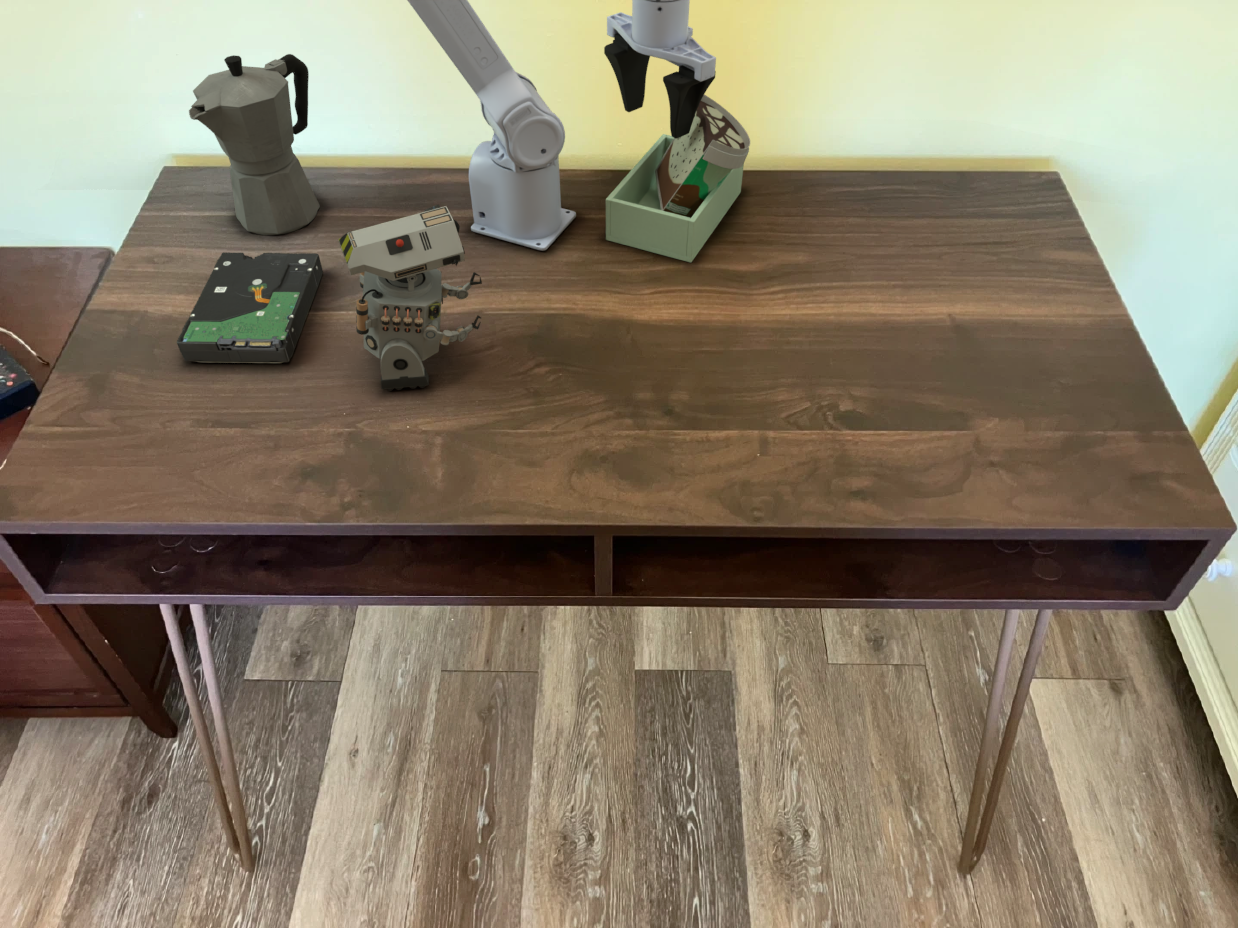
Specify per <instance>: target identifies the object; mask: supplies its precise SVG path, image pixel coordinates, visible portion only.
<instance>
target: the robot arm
mask: <svg viewBox="0 0 1238 928" xmlns="http://www.w3.org/2000/svg"><path fill="white" fill-rule="evenodd" d="M406 1H407V2H408V3H409V5H410V6H411V8H412V9H413V11H414V12H415V14H417V16H418V17H419V19H420V20H421V21H422V23H423V24H424V25H425V27H426V28H427V30H428V31H429V32H430V34H431V35H432V36H433V37H434V39H435V40H436V42H437V43H438V44H439V46H440V47H441V48H442V50H443V51H444V53H445V54H446V56H447V57H448V59H449V60H450V61H451V62H452V63H453V66H455V68H456V69H457V70H458V72H459V73H460V75H461V76H462V78H463V79H464V80H465V82H466V83H467V84H468V85H469V87H470V88H471V89H472V91H473V92H474V94H475V96H476V97H477V98H478V99H479V103H480V111H481V114H482V117H483V119H484V120H485V122H486V123H487V125H488V126H490V127H491V129H492V131H493V134H492V138H491V140H484V141H482V142H480V143H479V144H478V145H477V147H476V148H475V149H474V151H473V153H472V155H471V157H470V161H469V166H468V184H469V193H470V199H471V209H472V215H473V223H472V225H471V226H470V230H471V232H473V233H477V234H480V235H484V236H487V237H491V238H495V239H498V240H502V241H505V242H509V243H513V244H516V245H520V246H524V247H527V248H531V249H533V250H537V251H542V252H544V251H547V250H548V248H549V247H550V246H551V245H552V244H553V243H554V242H555V241H556V239H558V237H559V236H560V235H561V234H562V233H563V231H565V230H566V229H567V228H568V227H569V225H570V224H571V223H572V222H573V221H574V220H575V219H576V217H577V212H576V211H575V210H571V209H566V208H562V197H561V176H560V157H559V156H560V154H561V152H562V151H563V148H564V147H565V146H564V145H565V142H566V140H565V139H566V131H565V126H564V124H563V122H562V120H561V119H560V117H558V115H557V114H556V113H555V112H553V111H552V110H551V108H550V107H549V106H548V104H547V103H546V101H545V100H544V99H543V97H541V95H540V93H539V92H538V90H537V88H536V86H535V84H534V83H533V82H532V80H531V79H529V78H528V77H526V75H523V74H521V73H519V72H517V71H516V70H515V69H514V68H513V66H512V65H511V63H510V62H509V60H508V59H507V57H506V55H505V54H504V52H503V51H502V49H501V48H500V46H499V45H498V43H497V42H496V40H495V39H494V38H493V36H492V35H491V33H490V31H489V30H488V29H487V27H486V26H485V24H484V22H483V21H482V20H481V18H480V17H479V15H478V14H477V12H476V11H475V10H474V8H473V6H472V5H471V3H470V2H469V1H468V0H406ZM631 1H632V2H631V4H632V6H631V8H632V9H631V13H632V14H631V15H630V14H626V13H624V12H621V11H620V12H616V13H614V14H611V15H608V16H606V35H607V36H608V37H610V38H613V40H612V42H611V43H608V44H606V45H605V46H604V47H603V48H604V49H603V53H604V55H605V57H606V59H607V60H608V62H609V65H610V66H611V68H612V71H613V72H614V75H615V78H616V82H617V84H618V87H619V92H620V95H621V99H622V103H623V109H624V111H625V112H627V113H631V112H634V111H636V110H638V109H641V108H643V107H644V103H645V93H646V84H647V83H646V79H647V72H648V67H649V63H650V58H651V57H653V58H657V59H661V60H664V61H667V62H668V63H670V64H672V65H675V66H677V67H678V71H674V72H671V73H669V74H667V75H664V76H663V77H662V82H663V84H664V87H665V90H666V94H667V97H668V104H669V127H670V128H669V129H670V136H672V137H674V138H676V139H677V138H679V137H682V136H684V135H686V134H688V133H689V132H690V128H691V125H692V122H693V119H694V116H695V113H696V111H697V108H698V106H699V103H700V101H701V99H702V97H703V95H706V92H707V90H708V89H709V87H710V86H711V84H712V83H713V81H715V79H716V74H717V72H716V66H717V65H716V64H717V57H716V56H714V55H713V54H711V53H709V52H708V51H706V49H705V48H703V46H702V45H700V43H698V42H697V41H696V40H695V39H694V37H693V35H694V33H693V32H694V29H693V27H691V26H689V18H690V16H689V15H690V1H691V0H631Z"/></svg>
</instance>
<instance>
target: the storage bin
mask: <svg viewBox="0 0 1238 928" xmlns="http://www.w3.org/2000/svg"><path fill="white" fill-rule="evenodd" d="M673 139H674V137H672V135H671V134H667V133H662V134H661V135H660V137H658V139H657V140H656V141H655V142H654V143H653V144H652V146H651V147H650V148H649V149H648V150H647V152H645V154H644V155H643V156H642V157H641V158H640V159H639V160H638V162H637V163H636V164H635V165H634V166H633V167H632V169H631V170H630V171H629V172H628V173H627V174H626V175H625V177H623V179H622V180H621V181H620V182H619V184H618V185H617V186H616V187H615V188H614V189H613V190H612V192H610V194H609V195H607V197H606V198H605V240H606V241H608V242H613V243H616V244H620V245H622V246H623V245H624V246H627V247H631V248H635V249H639V250H643V251H646V252H650V253H654V254H658V255H661V256H664V257H668V258H671V259H675V260H679V261H683V262H687V263H692V262H693V261H694V259H695V258H696V257H697V255H698V254H699V252H700V251H701V249H702V248H703V247H704V245H705V244H706V242H707V241H708V240H709V238H710V237H711V235H712V234H713V232H714V231H715V230H716V228H717V227H718V225H719V224H720V222H721V221H722V220H723V218H724V217H725V215H726V214H727V212H728V211H729V209H731V206H732V205H733V204H734V203H735V201H736V200H737V198H738V197H739V195H740V194H741V192H742V184H743V175H744V165H745V163H744V164H743V166H742V167H740V168H737V169H732V170H731V171H730V173H729V174H728V175H727V176H726V178H725V179H724V180H723V181H722V183H721V184H720V185H719V186H717V187H716V188H715V189H713V190H712V191H711V192H710V193H709V194H708V196H707V197H706V198H705V200H704V201H703V203H702V204H701V205H700V207H699V208H698V209H697V211H696V212H695V213H694V215H693V216H692V217H691V218H689V217H685V216H682V215H678V214H674V213H670V212H666V211H662V210H661V208H660V201H659V195H658V189H657V182H656V176H655V170H656V168H657V166H658V165H659V163H660V161H661V159H662V158H663V156H664V154H665V153H666V151H667V149H668V147H669V146H670V144H671V142H672V140H673Z"/></svg>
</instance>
